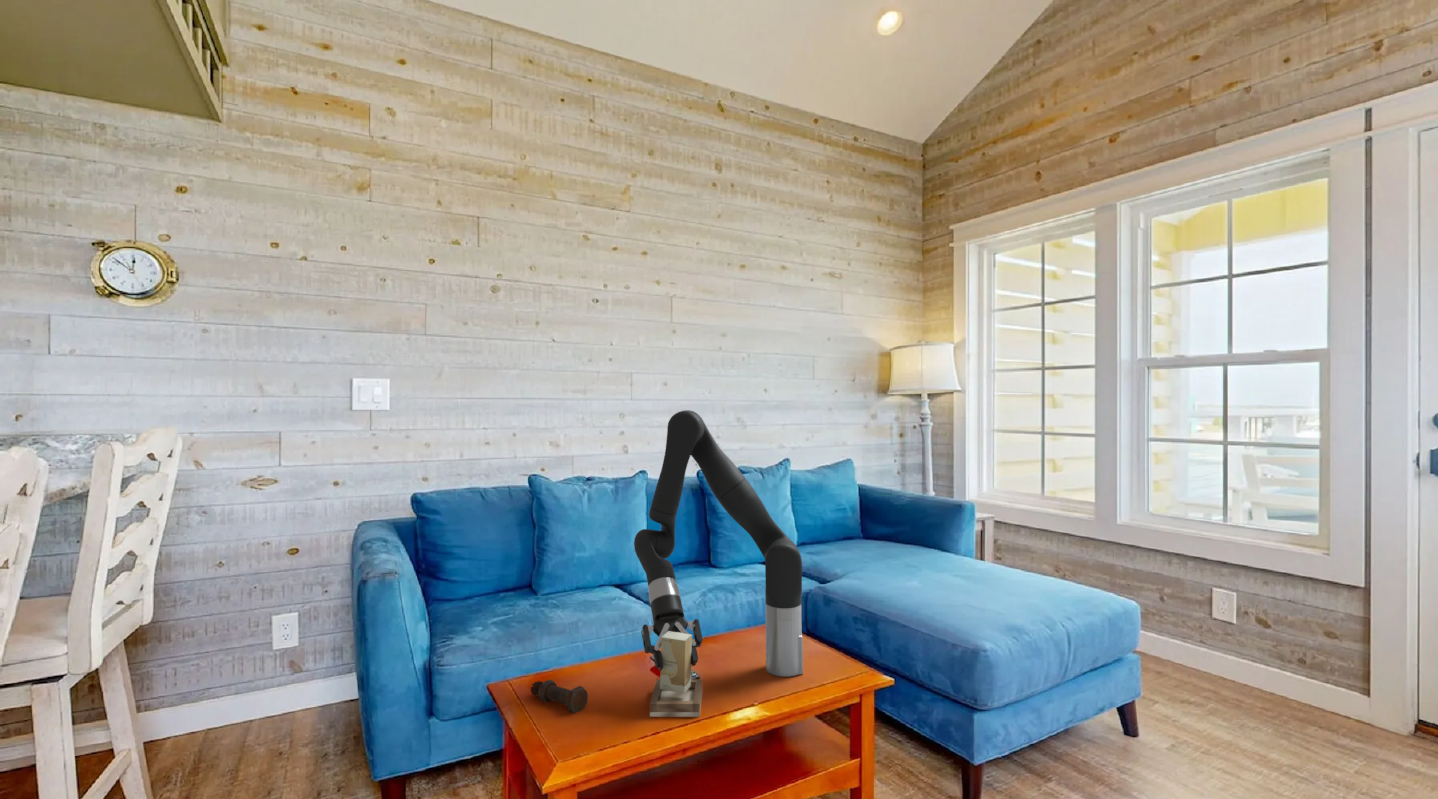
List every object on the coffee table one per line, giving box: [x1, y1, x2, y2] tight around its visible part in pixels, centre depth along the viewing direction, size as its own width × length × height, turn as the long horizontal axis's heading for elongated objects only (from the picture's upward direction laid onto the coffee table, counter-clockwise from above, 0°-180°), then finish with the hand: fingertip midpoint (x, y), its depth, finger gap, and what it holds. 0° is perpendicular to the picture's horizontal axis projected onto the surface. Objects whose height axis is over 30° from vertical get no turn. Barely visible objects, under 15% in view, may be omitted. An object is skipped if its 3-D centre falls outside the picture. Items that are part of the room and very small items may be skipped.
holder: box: [649, 678, 703, 718], centre depth 152 cm, size 11×13×3 cm
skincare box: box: [659, 631, 693, 693], centre depth 152 cm, size 6×4×12 cm
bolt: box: [530, 679, 589, 714], centre depth 153 cm, size 6×5×15 cm
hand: (677, 666), depth 151 cm, fingers closed on skincare box, 7 cm apart
